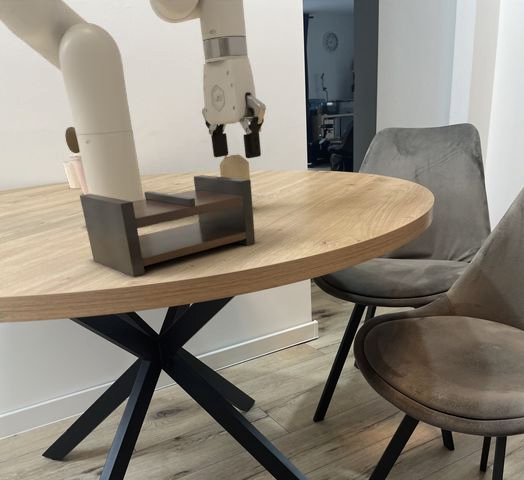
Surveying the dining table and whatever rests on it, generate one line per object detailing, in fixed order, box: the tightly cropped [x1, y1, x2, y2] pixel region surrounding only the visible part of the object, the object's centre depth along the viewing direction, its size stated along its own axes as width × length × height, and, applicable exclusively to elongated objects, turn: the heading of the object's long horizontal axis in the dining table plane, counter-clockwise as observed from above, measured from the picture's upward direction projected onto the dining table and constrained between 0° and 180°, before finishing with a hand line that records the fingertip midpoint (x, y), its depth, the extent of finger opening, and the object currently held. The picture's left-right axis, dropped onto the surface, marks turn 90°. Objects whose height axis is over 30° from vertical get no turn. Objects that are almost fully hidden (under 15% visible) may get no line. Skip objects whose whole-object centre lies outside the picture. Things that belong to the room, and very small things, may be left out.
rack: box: [79, 174, 256, 278], centre depth 72 cm, size 12×20×9 cm, turn 131°
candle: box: [219, 154, 251, 180], centre depth 98 cm, size 6×6×10 cm
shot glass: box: [62, 160, 82, 189], centre depth 145 cm, size 7×7×7 cm
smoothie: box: [69, 152, 89, 195], centre depth 130 cm, size 6×6×14 cm
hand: (236, 156), depth 96 cm, fingers open, 9 cm apart
